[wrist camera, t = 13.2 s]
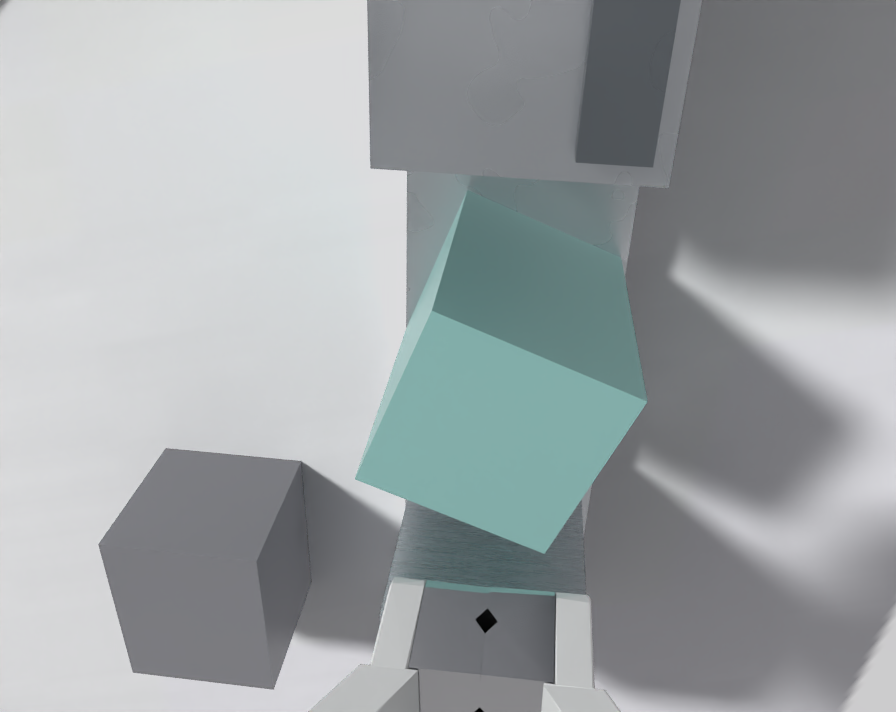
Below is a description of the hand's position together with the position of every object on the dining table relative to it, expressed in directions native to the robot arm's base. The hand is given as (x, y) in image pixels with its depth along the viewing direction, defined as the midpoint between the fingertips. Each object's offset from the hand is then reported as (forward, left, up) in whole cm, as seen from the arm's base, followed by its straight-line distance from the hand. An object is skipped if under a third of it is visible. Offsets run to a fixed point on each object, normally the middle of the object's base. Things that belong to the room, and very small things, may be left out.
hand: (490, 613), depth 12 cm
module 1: (-11, +10, -13) cm, 20 cm away
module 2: (0, 0, -12) cm, 12 cm away
